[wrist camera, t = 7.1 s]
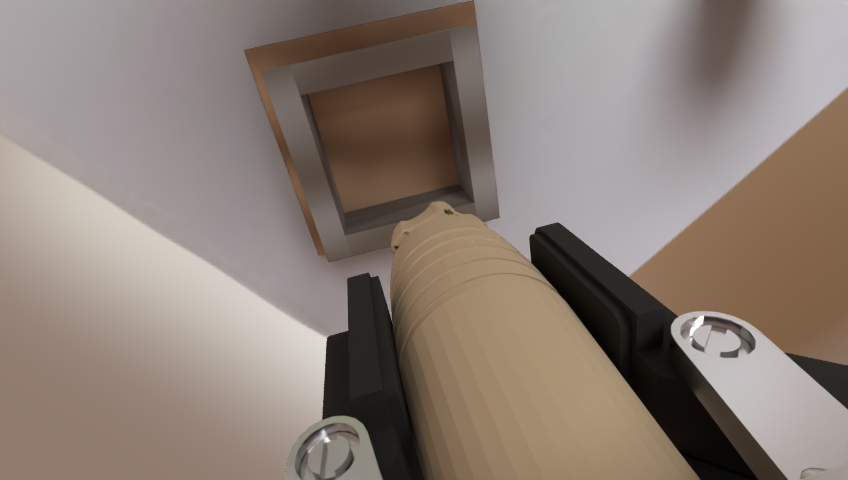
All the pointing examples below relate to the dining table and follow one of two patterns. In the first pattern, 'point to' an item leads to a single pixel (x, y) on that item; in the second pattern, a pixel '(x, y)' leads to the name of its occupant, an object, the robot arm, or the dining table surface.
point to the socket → (381, 124)
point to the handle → (508, 367)
